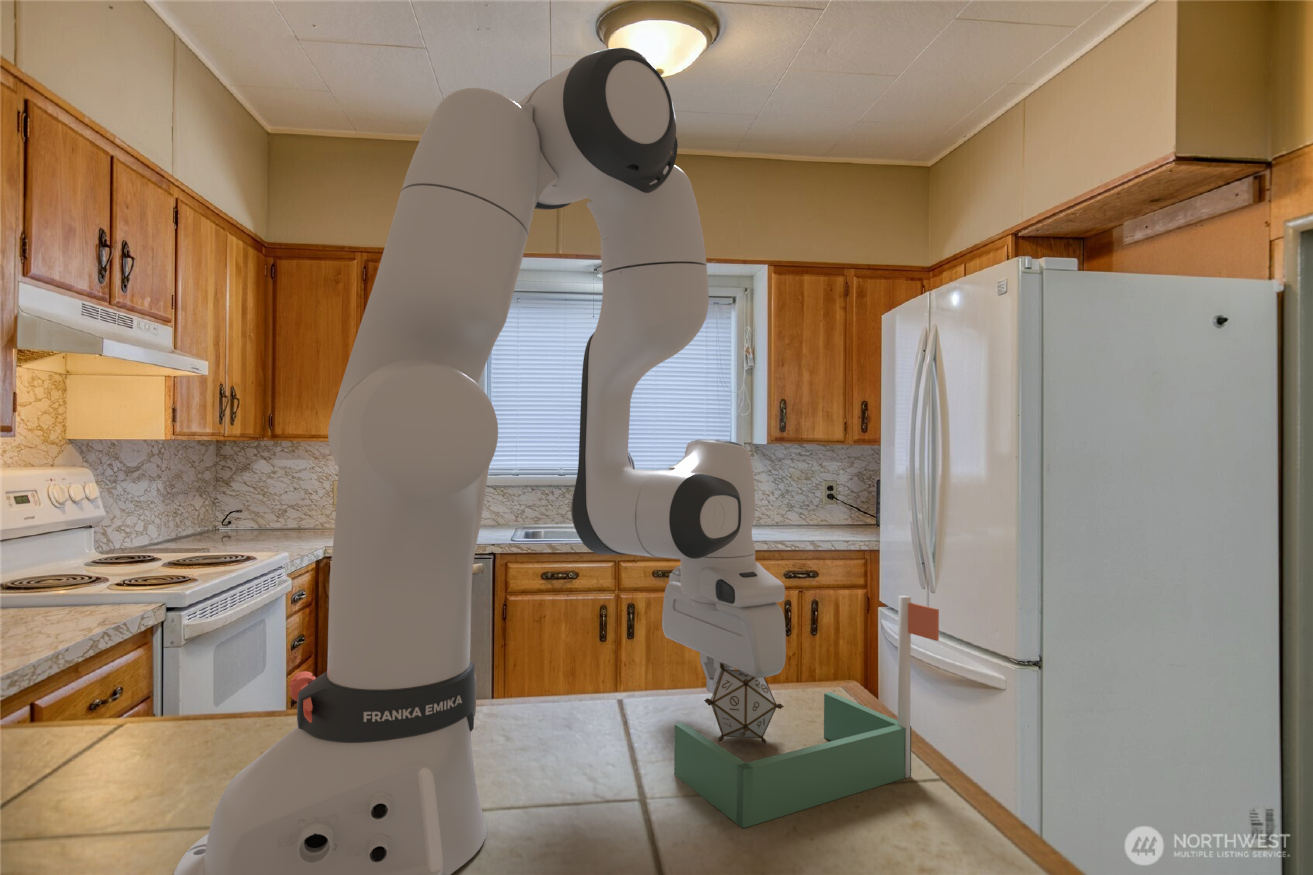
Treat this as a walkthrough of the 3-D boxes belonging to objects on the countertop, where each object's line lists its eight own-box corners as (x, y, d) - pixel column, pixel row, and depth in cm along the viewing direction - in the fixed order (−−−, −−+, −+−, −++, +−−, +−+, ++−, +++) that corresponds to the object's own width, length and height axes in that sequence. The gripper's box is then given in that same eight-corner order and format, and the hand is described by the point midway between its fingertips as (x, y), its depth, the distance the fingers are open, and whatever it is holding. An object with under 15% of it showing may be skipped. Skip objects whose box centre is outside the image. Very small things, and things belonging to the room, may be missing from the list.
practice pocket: (768, 848, 57) (770, 627, 58) (674, 774, 70) (676, 594, 71) (941, 790, 68) (941, 603, 68) (830, 735, 81) (832, 578, 81)
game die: (748, 763, 81) (793, 687, 84) (757, 773, 73) (806, 689, 75) (684, 716, 83) (730, 643, 85) (685, 721, 75) (736, 640, 77)
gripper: (650, 565, 90) (650, 673, 90) (750, 595, 73) (749, 728, 73) (690, 561, 94) (690, 665, 94) (795, 588, 76) (795, 716, 76)
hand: (717, 693), depth 83 cm, fingers closed
